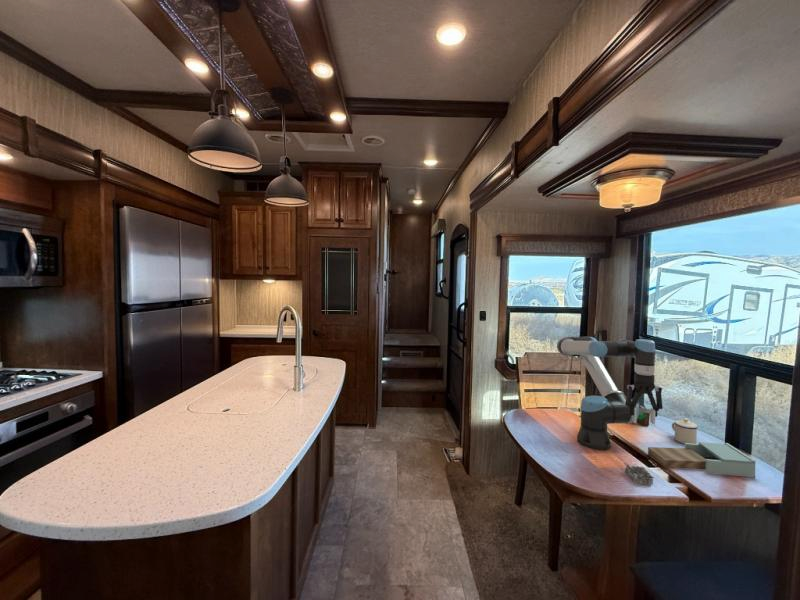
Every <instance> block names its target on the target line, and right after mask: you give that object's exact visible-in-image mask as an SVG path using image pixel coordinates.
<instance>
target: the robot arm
mask: <svg viewBox="0 0 800 600" xmlns="http://www.w3.org/2000/svg"><path fill="white" fill-rule="evenodd" d="M556 349H557V352H558V353H560V354H561V355H562V356H565V357H577V359H578V361H579V362H581V363H583V364H584V366H585V368H586V370H587V371H588V374H589V375H590V377H591V379H592V380H593V383H594V385H596V388H597V389H598V391H599V393H600V395H588V396H587V395H586V396H584V397H582V399H581V401H580V426H579V427H580V428H579V430H578V432H577V434H576V441H577V443H578V444H579V445H580V446H582V447H584V448H587V449H590V450H595V451H608V450H610V449H611V448H612V441H611V438H610V436H609V432H608V424H610V425H611V424H629V423H630V424H631V423H634V424H637V423H636V421H637V418H638V415H639V414H638V413H639V410H638V406H637V403H639V399H640V397H641V396H642V395H647V397H648V400H649V402H650V404H651V407H650V419H649V423H651V424H652V425H656V418H657V417H658V411H660V410H663V398H662V391H663V388H662V387H660V386H659V385H657V386H656V385H655V375H654V374H655V372H656V371H655V370H656V369H655V366H656V364H655V362H656V342H655V341H654V340H651V339H645V338H639V339H635V341H632V340H630V339H622V338H621V339H619V340H604V341H602V340H597V339H596V338H595V337H592V336H584V335H583V336H567V337H562V338H561V339H559V340H558V342H557V344H556ZM606 357H607V358H608V357H609V358H610V357H611V358H612V357H614V358H615V357H618V358H619V357H629V358H633V359H634V377H633V378H634V379H633V381H634V382H633V383H632V384H627V385H626V389H627V391H626V394H625V393H624V392H623V391H620V390H619V388H618V387H617V386H616V383H615V382H614V380H613V379H612V377H611V375H610V373H609V372H608V370H607V368H606V367H605V365H604V363H603V362H602V360H601V358H606ZM634 389H635V391H634ZM633 391H634V392H633ZM653 391H655V398H654V394H653ZM633 394H634V395H633ZM655 399H656V400H655Z"/></svg>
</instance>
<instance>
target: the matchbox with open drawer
mask: <svg viewBox="0 0 800 600" xmlns="http://www.w3.org/2000/svg"><path fill="white" fill-rule="evenodd" d="M684 448H689V449H691V450H692V451H694V452H695V453H697V454H699V455H700V456H702V457H703V458H705V459H706V470H705V472H706V473H707V474H716V475H729V476H738V477H750V478H756V464H757V463H756V459H753V458H751V456H749V455H747V454H746V453H744V452H743V451H741V450H739V449H738V448H736V447H735V446H733V445H731V443H728V442H725V443H715V442H705V441H704V442H702V441H699V442H698V443H696V444H690V443H685V444H684ZM708 458H710V459H708ZM712 458H713V459H712Z"/></svg>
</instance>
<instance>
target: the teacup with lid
mask: <svg viewBox="0 0 800 600" xmlns="http://www.w3.org/2000/svg"><path fill="white" fill-rule="evenodd" d="M671 428H672V431H673V432H674V440H675V441H677V442H679V443H681V444H684V445H685V443H690V444H698V443H697V440H698V439H697V434H698V428H699V427H698V425H697V424H696V423H694V422H692V421H690V420H689V419H688V418H686V417H685V418H683V419H678V420H675V421H674V422H672V423H671Z"/></svg>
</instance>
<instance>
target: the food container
mask: <svg viewBox="0 0 800 600" xmlns="http://www.w3.org/2000/svg"><path fill="white" fill-rule="evenodd" d="M637 406H638V410H639V413H638V414H639V415H638V418H637V421H636V423H635V424H637V425H639V426H643V427H644V426H645V427H649V426H650V409H649V408H648V409H647V407H645V406H643V405H641V404H640V402H637Z"/></svg>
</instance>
